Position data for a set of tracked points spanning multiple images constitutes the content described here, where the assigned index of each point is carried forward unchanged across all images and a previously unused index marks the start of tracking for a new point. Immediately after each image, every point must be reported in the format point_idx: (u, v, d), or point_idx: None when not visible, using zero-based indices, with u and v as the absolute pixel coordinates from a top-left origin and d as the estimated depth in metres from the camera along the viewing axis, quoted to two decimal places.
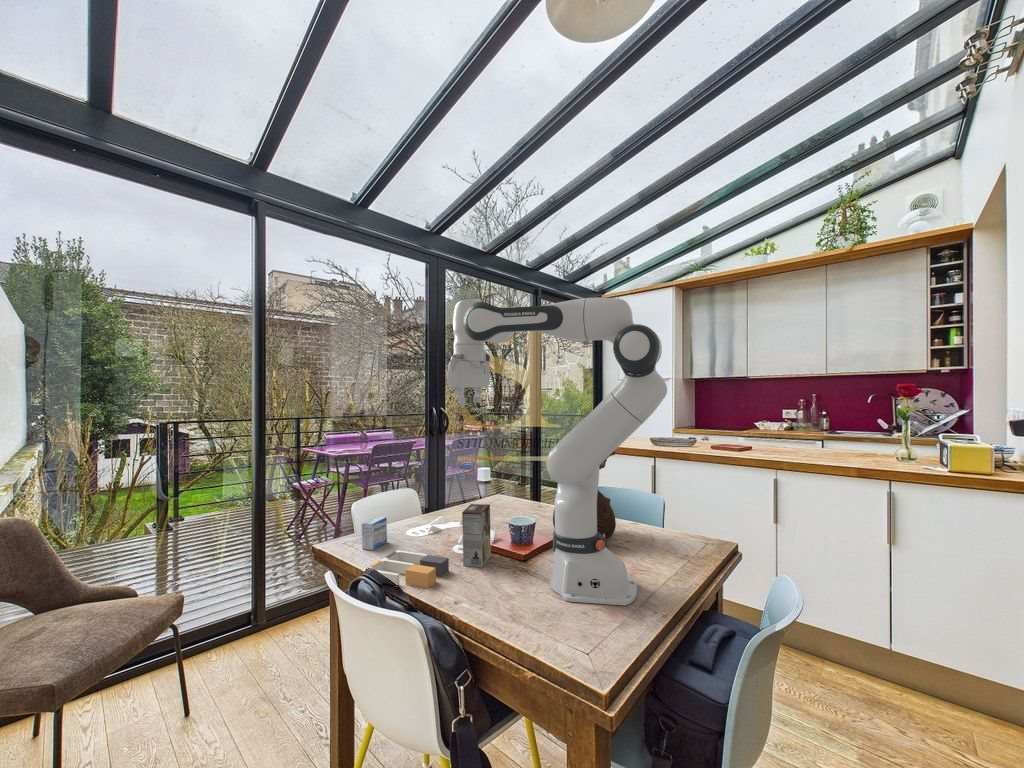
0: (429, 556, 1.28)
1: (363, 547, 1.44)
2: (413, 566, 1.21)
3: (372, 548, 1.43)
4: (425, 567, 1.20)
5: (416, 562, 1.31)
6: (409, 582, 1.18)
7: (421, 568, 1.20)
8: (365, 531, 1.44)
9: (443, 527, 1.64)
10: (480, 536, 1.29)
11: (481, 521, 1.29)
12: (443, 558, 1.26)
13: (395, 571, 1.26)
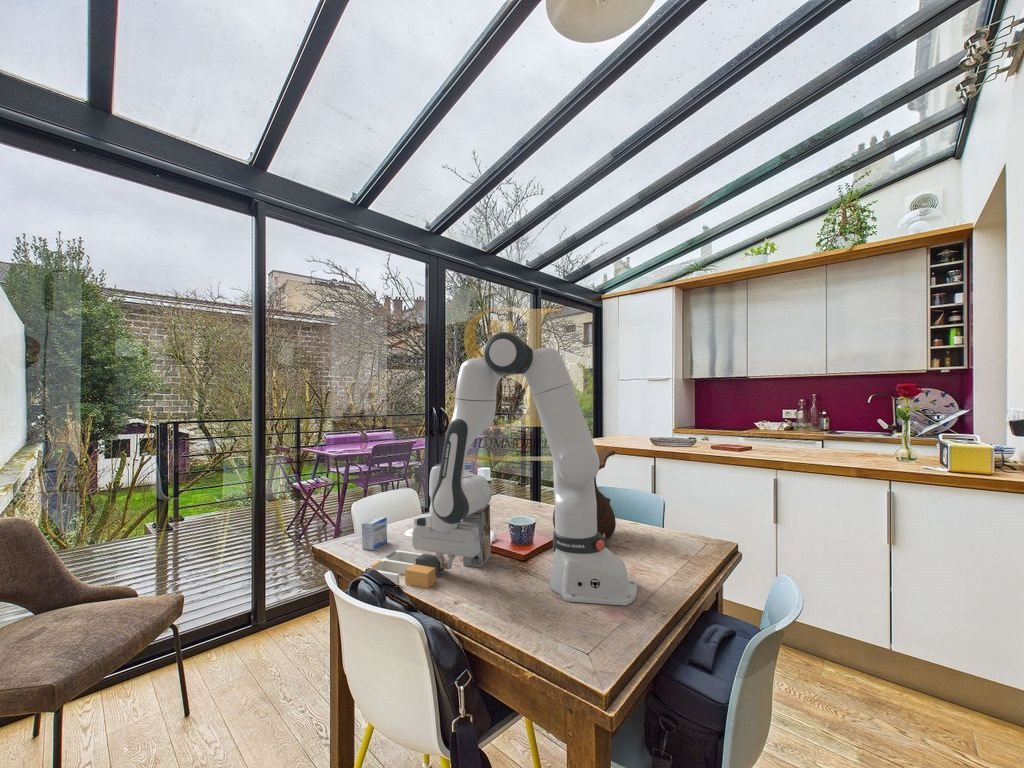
0: (425, 555, 1.28)
1: (363, 547, 1.44)
2: (413, 566, 1.21)
3: (372, 548, 1.43)
4: (425, 567, 1.20)
5: None
6: (409, 582, 1.18)
7: (421, 568, 1.20)
8: (365, 531, 1.44)
9: None
10: (480, 536, 1.29)
11: (481, 521, 1.29)
12: None
13: (395, 571, 1.26)
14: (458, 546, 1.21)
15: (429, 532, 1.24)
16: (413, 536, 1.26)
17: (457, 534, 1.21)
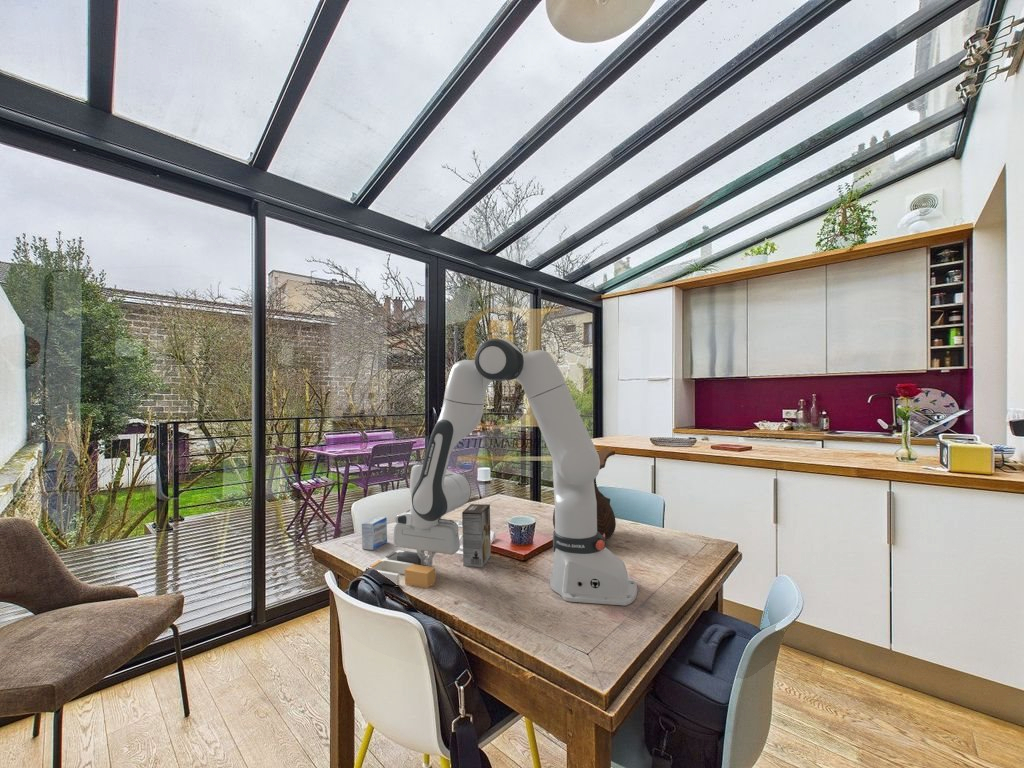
0: (406, 552, 1.30)
1: (363, 547, 1.44)
2: (413, 566, 1.21)
3: (372, 548, 1.43)
4: (425, 567, 1.20)
5: None
6: (409, 582, 1.18)
7: (421, 568, 1.20)
8: (365, 531, 1.44)
9: None
10: (480, 536, 1.29)
11: (481, 521, 1.29)
12: None
13: (395, 571, 1.26)
14: (437, 543, 1.23)
15: (410, 530, 1.26)
16: (395, 533, 1.28)
17: (437, 531, 1.23)
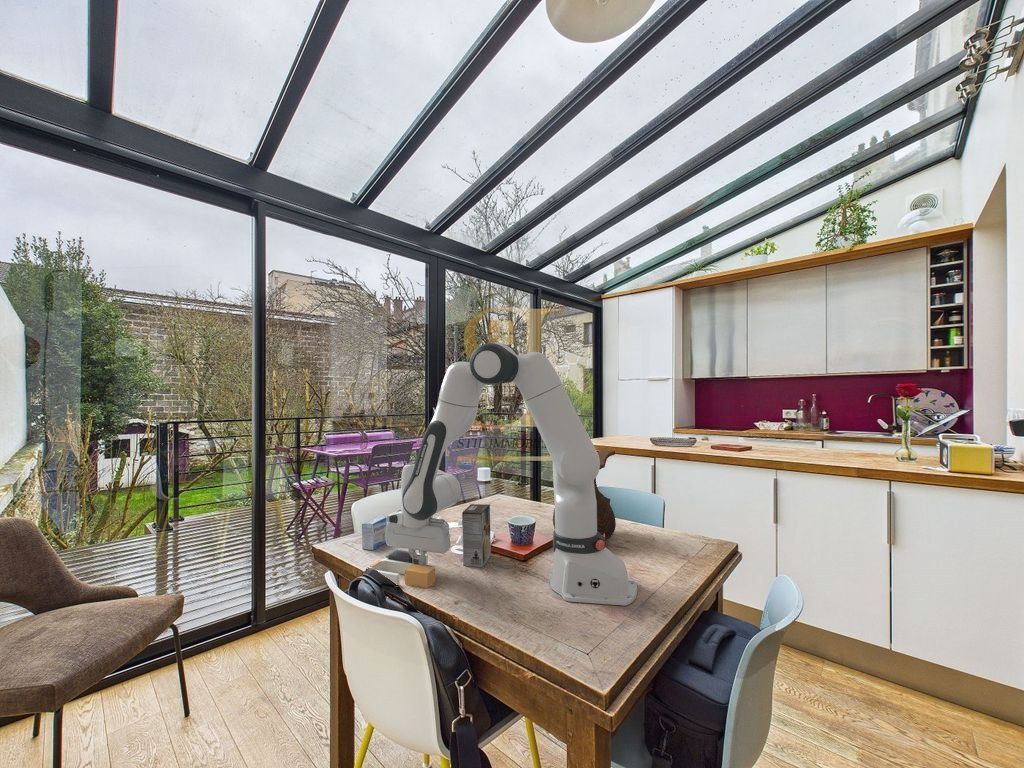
0: (398, 551, 1.32)
1: (363, 547, 1.44)
2: (413, 566, 1.21)
3: (372, 548, 1.43)
4: (425, 567, 1.20)
5: None
6: (409, 582, 1.18)
7: (421, 568, 1.20)
8: (365, 531, 1.44)
9: None
10: (480, 536, 1.29)
11: (481, 521, 1.29)
12: None
13: (395, 571, 1.26)
14: (428, 542, 1.24)
15: (401, 529, 1.28)
16: (386, 533, 1.29)
17: (428, 531, 1.24)
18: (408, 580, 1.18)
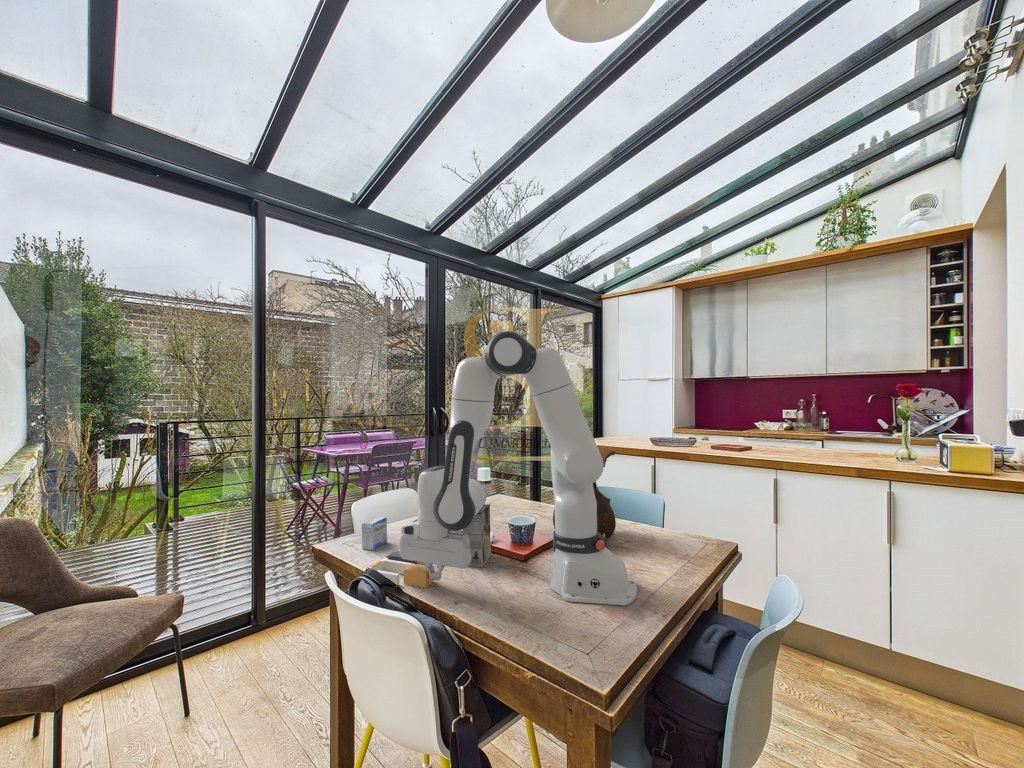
0: (398, 551, 1.32)
1: (363, 547, 1.44)
2: (411, 565, 1.21)
3: (372, 548, 1.43)
4: (423, 566, 1.20)
5: None
6: (407, 581, 1.18)
7: (419, 567, 1.20)
8: (365, 531, 1.44)
9: None
10: (480, 536, 1.29)
11: (481, 521, 1.29)
12: None
13: (395, 571, 1.26)
14: (447, 556, 1.14)
15: (417, 541, 1.17)
16: (401, 545, 1.19)
17: (447, 543, 1.14)
18: (407, 579, 1.18)
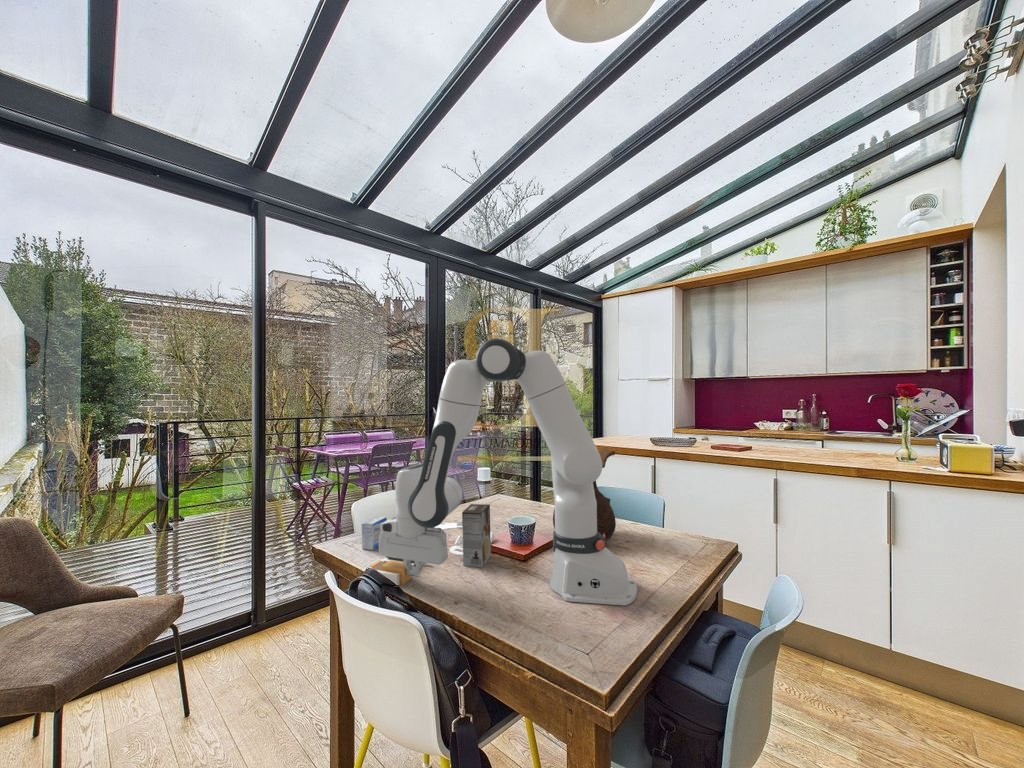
0: None
1: (363, 547, 1.44)
2: (389, 562, 1.23)
3: (372, 548, 1.43)
4: (401, 563, 1.23)
5: None
6: None
7: (397, 563, 1.22)
8: (365, 531, 1.44)
9: None
10: (480, 536, 1.29)
11: (481, 521, 1.29)
12: None
13: None
14: (424, 552, 1.17)
15: (395, 538, 1.20)
16: (380, 542, 1.21)
17: (424, 540, 1.17)
18: None
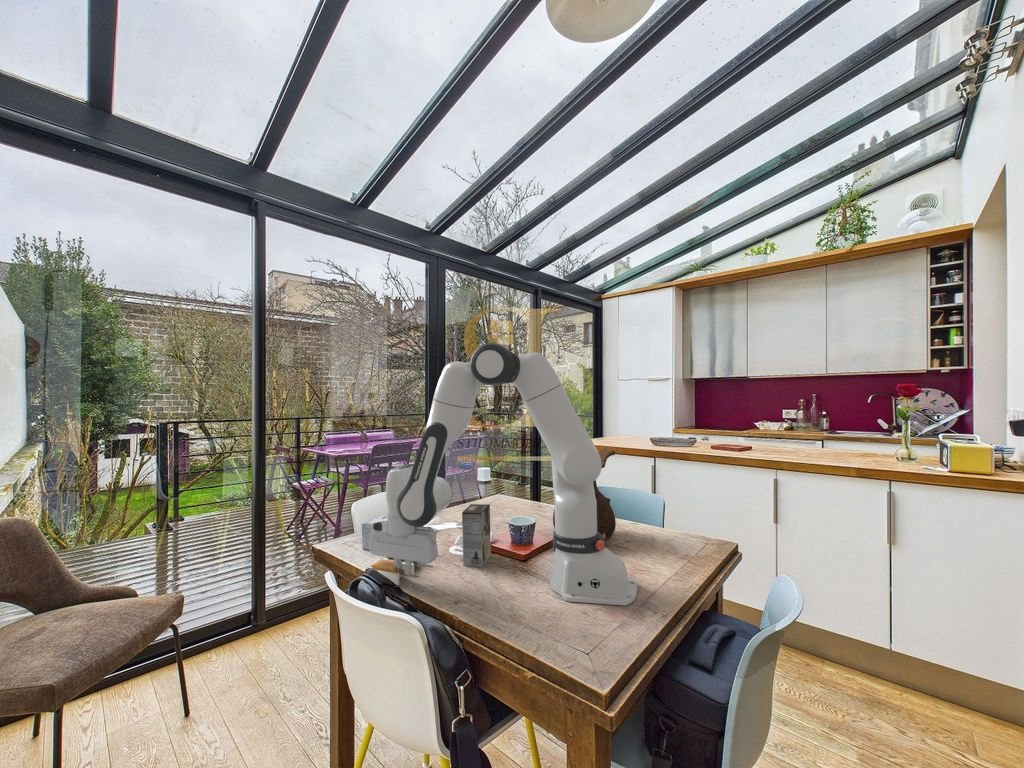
0: None
1: (363, 547, 1.44)
2: (380, 561, 1.24)
3: None
4: (392, 561, 1.24)
5: None
6: None
7: (388, 562, 1.23)
8: (365, 531, 1.44)
9: (440, 528, 1.64)
10: (480, 536, 1.29)
11: (481, 521, 1.29)
12: None
13: None
14: (414, 551, 1.18)
15: (386, 537, 1.21)
16: (370, 541, 1.22)
17: (414, 539, 1.18)
18: None
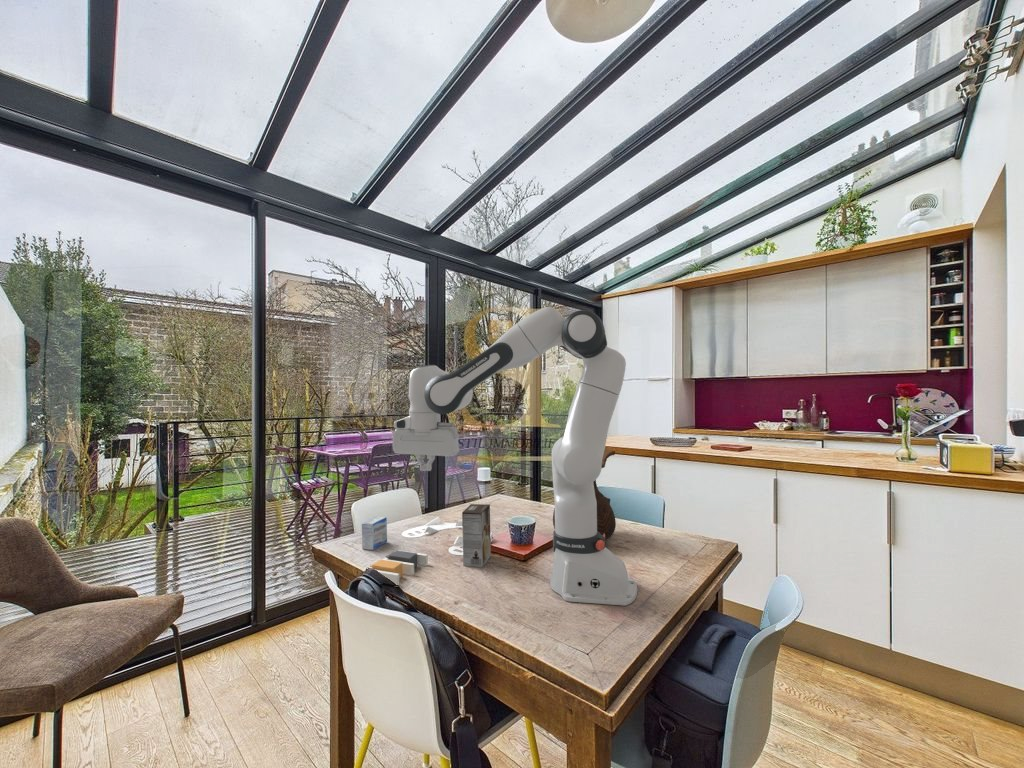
0: (398, 551, 1.32)
1: (363, 547, 1.44)
2: (380, 561, 1.24)
3: (372, 548, 1.43)
4: (392, 562, 1.24)
5: None
6: None
7: (388, 563, 1.23)
8: (365, 531, 1.44)
9: (439, 528, 1.63)
10: (480, 536, 1.29)
11: (481, 521, 1.29)
12: (412, 553, 1.30)
13: None
14: (436, 445, 1.22)
15: (409, 435, 1.26)
16: (393, 440, 1.27)
17: (436, 434, 1.22)
18: None
